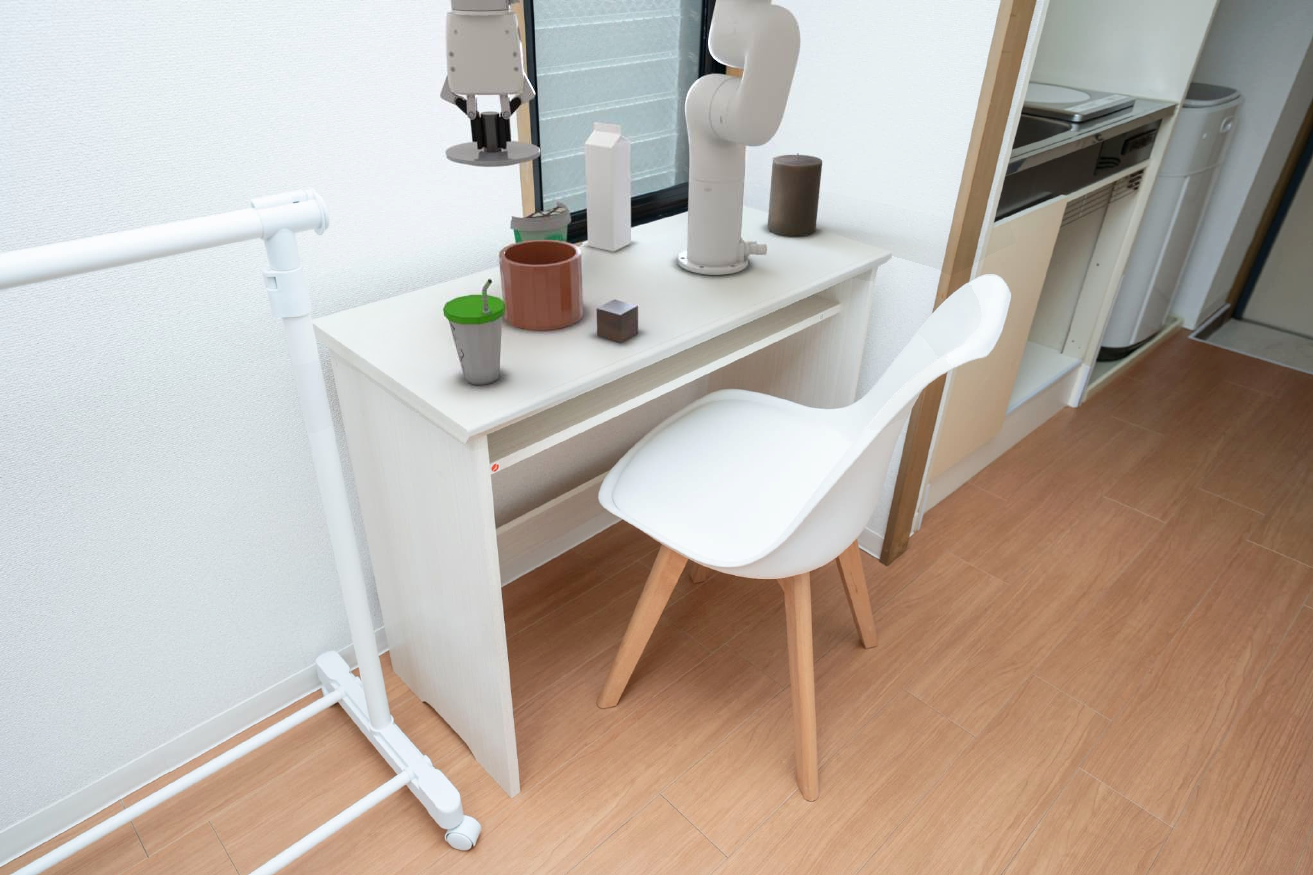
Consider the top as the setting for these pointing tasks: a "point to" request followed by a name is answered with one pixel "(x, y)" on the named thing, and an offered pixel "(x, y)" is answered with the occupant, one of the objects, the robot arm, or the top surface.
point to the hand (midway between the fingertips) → (492, 146)
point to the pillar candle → (794, 194)
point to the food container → (542, 225)
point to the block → (617, 320)
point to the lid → (492, 147)
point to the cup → (477, 334)
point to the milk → (608, 187)
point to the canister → (541, 284)
